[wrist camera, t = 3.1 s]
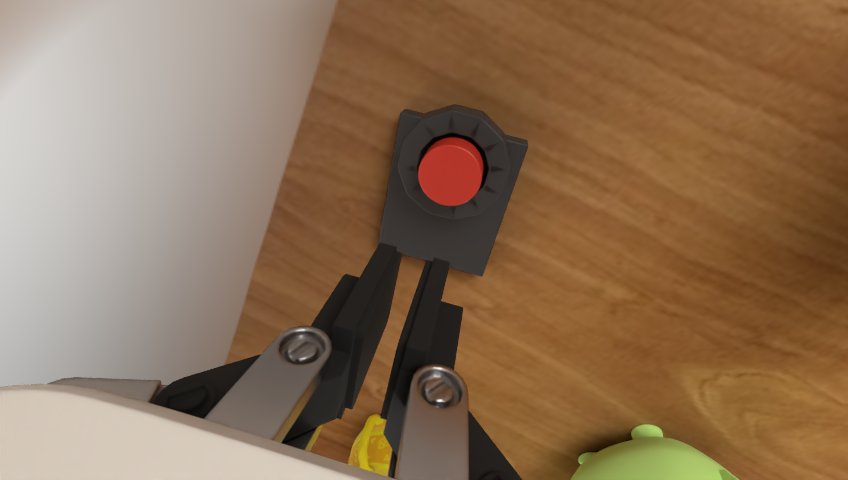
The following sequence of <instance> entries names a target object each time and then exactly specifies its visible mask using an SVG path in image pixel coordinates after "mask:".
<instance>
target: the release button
mask: <svg viewBox="0 0 848 480" xmlns="http://www.w3.org/2000/svg"><path fill="white" fill-rule="evenodd" d="M482 175H483V160H482V157H481V155H480V153H479V151H478V150H477V148H476V147H475V146H474V145H473V144H471V143H470V142H468V141H466V140H464V139H461V138H457V137H449V138H444V139H441V140H439V141H437V142H436V143H434V144H433V145H432V146H431V147H430V148H429V149H428V151H427V153H426V154H425V156H424V157H423V159H422V161H421V163H420V166H419V170H418V178H419V183H420V186H421V188H422V190H423V191H424V193H425V194H426V195H427V196H428V197H429V198H430V199H431V200H433V201H435V202H437V203H439V204H442V205H446V206H455V205H460V204H463V203H465V202H467V201H469V200H470V199H471V198H473V197H474V196H475V194H476V193H477V192H478V190H479V188H480V185H481V181H482Z"/></svg>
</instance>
